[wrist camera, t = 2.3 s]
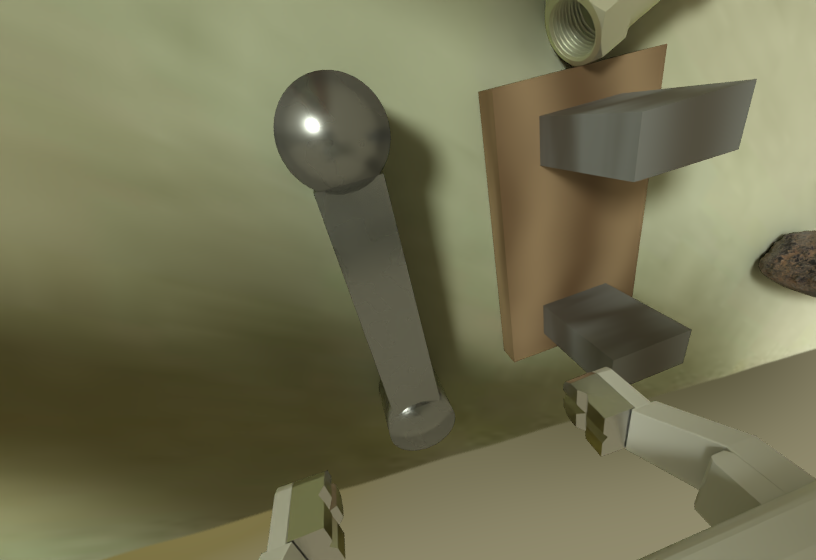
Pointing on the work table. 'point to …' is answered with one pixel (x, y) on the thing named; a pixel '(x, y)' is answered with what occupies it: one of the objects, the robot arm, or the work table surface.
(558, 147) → the peg stand
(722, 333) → the work table surface
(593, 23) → the pipe fitting
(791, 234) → the perforated stone tool
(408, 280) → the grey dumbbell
